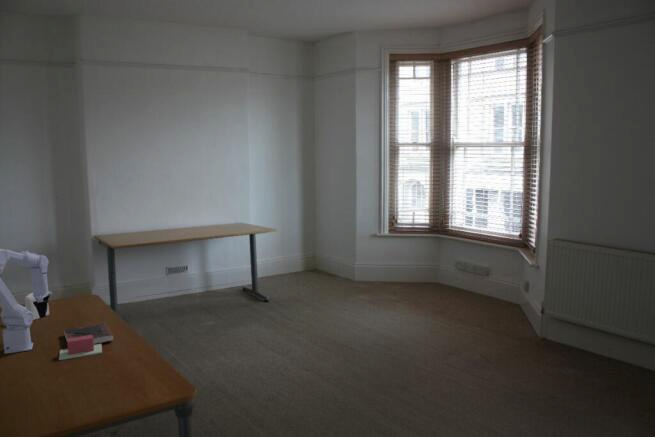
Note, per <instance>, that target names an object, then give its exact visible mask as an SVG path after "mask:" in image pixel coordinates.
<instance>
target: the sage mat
mask: <svg viewBox="0 0 655 437" xmlns="http://www.w3.org/2000/svg"><path fill="white" fill-rule="evenodd" d="M100 354H103V347H102V343H96V344H94V351H88V352H82V353H76V354H70V355H68V348H64V349H59V356H58V360H59V361H64V360H69V359H75V358H76V359H77V358H81V357H87V356H88V357H89V356H95V355H100Z"/></svg>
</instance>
